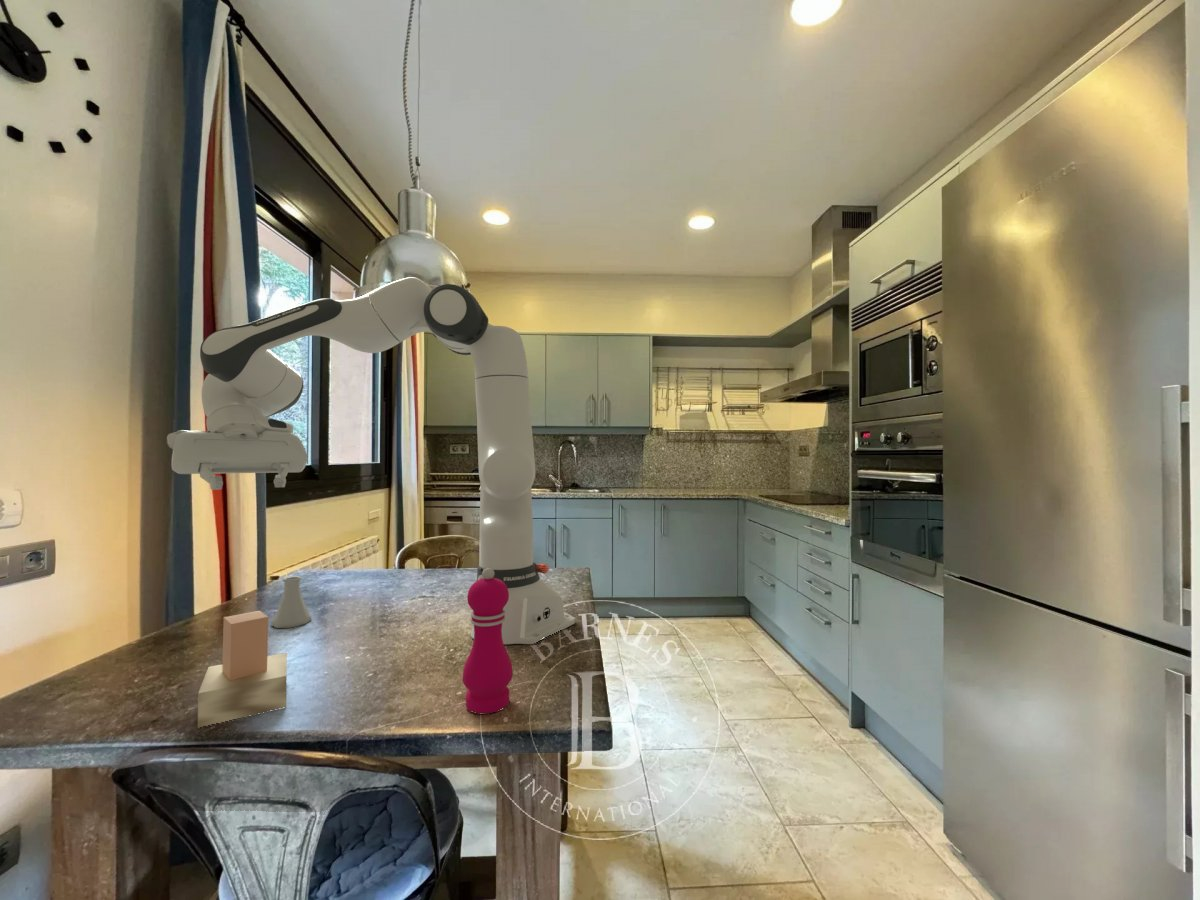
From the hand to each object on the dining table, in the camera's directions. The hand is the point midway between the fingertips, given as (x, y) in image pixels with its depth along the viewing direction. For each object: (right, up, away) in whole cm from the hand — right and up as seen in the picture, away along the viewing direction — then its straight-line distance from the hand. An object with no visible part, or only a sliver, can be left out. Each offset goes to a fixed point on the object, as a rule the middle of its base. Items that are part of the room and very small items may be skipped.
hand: (250, 486), depth 87 cm
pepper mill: (+46, -31, -15) cm, 57 cm away
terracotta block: (+9, -26, -14) cm, 32 cm away
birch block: (+10, -31, -14) cm, 36 cm away
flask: (-6, -32, +21) cm, 39 cm away
